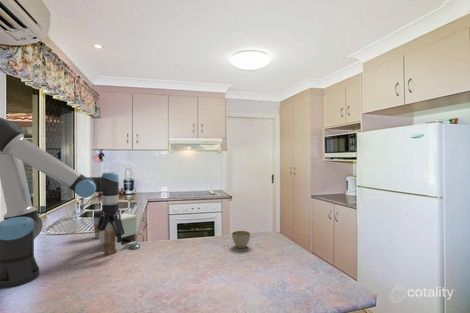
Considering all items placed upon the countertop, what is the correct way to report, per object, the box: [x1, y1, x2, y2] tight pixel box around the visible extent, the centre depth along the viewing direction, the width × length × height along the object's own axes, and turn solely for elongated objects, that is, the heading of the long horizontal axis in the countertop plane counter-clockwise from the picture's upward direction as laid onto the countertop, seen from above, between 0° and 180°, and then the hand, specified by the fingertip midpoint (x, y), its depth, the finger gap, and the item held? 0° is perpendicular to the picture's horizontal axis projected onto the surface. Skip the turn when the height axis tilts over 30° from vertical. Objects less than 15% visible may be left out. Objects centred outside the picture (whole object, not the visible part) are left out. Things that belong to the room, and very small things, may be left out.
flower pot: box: [231, 230, 251, 249], centre depth 141 cm, size 10×10×7 cm
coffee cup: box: [93, 210, 102, 240], centre depth 157 cm, size 8×8×15 cm
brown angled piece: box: [103, 228, 138, 256], centre depth 137 cm, size 17×4×12 cm, turn 147°
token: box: [129, 243, 141, 251], centre depth 139 cm, size 5×5×2 cm
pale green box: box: [102, 212, 138, 246], centre depth 146 cm, size 14×11×15 cm
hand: (110, 246), depth 131 cm, fingers open, 13 cm apart
